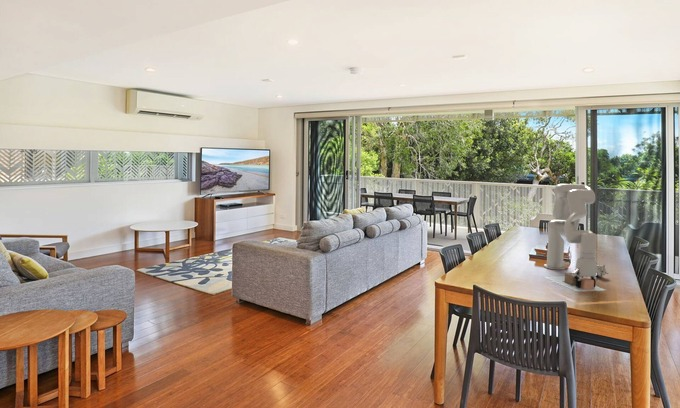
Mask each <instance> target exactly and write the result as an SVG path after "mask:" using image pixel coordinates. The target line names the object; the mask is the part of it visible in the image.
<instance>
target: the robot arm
mask: <svg viewBox="0 0 680 408" xmlns="http://www.w3.org/2000/svg"><path fill="white" fill-rule="evenodd" d="M554 196H555V199H554V204H553V211H552V217H553V218H554V219H551V220H549V221H548V222H547V251H546V253H547V254H546V263H544V264H543V267H544V268H546V269H550V270H554V271H555V270H556V271H557V270H566V266H570V265H571V263H570V261H565V260H564V254H565V240H566V242H567V243H569V244H580V245H579V256H578V257H577V260H576V264H575V269H574V270H573V271H572V272H571V273H572V275H573V277H574V278H575V280H576V287H578V288H581V281H580V280H581V278H582V277H583V278H590V279H592V280H594V287H595V286H596V281H597V280H598V278H600V277H599V275H600V273H601V272H600V271H598V270H597V264H598V261H597V258H596V257H597V256H598V254H597V245H598V244H597V242H598V235H597V234H596V233H594V232H593V231H592V230H587V229H585V230H583V229H579V227H580V226H579V225H580V222H581V219H582V218H585V217H586V216H587V215H588V210H587V207H586V206H587V205H591V204H594V203H595V202H596V194H595V192H594V190H593V189H592V188H591V187H589V186H588V185H586V184H583V183H581V184H580V183H577V184H575V183H558V184H556V185H555V187H554ZM562 236H564V237H565V240H564V239H563V237H562ZM576 275H577V276H576ZM579 276H580V277H579ZM578 277H579V278H578Z"/></svg>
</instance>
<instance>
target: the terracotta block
mask: <svg viewBox="0 0 680 408" xmlns="http://www.w3.org/2000/svg"><path fill="white" fill-rule="evenodd" d="M580 281H581V289H583V290H592V289H594V280H592V279H591V278H590V277H583V278H581V280H580Z"/></svg>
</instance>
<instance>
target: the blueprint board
mask: <svg viewBox="0 0 680 408" xmlns="http://www.w3.org/2000/svg"><path fill="white" fill-rule="evenodd" d="M543 278H544V279H547V280H550V281H551V282H554V283H556V284H558V285H561V286H563V287H566V288H568V289H570V290H572V291H574V292H599V291H600V292H601V291H606V289H605V288H602V287H599V286H597V285H595V287H594V289H592V290H583V289H581V288H578V287H576V285H572V284H569V283H567V282H564V280H565V275H563V276H562V275H560V276H543Z"/></svg>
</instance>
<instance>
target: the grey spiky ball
mask: <svg viewBox="0 0 680 408" xmlns="http://www.w3.org/2000/svg"><path fill="white" fill-rule="evenodd" d="M597 270H598V271H600V272H601V273H600V275H599V277H598V278H600V279H602V277H604V276H605V275H608V274H609V272H607V270H606V264H603V265H601V264H599V263H597Z"/></svg>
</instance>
